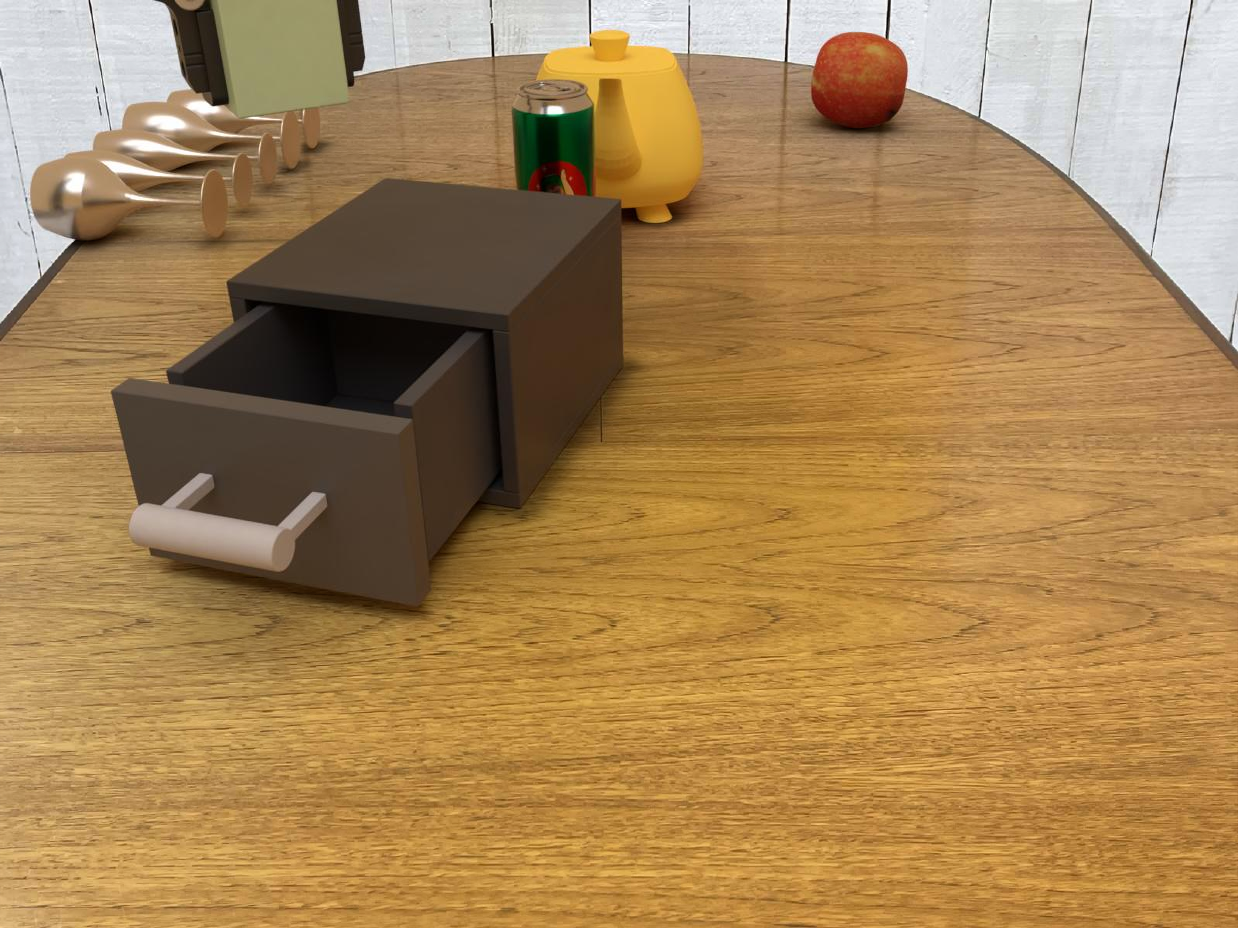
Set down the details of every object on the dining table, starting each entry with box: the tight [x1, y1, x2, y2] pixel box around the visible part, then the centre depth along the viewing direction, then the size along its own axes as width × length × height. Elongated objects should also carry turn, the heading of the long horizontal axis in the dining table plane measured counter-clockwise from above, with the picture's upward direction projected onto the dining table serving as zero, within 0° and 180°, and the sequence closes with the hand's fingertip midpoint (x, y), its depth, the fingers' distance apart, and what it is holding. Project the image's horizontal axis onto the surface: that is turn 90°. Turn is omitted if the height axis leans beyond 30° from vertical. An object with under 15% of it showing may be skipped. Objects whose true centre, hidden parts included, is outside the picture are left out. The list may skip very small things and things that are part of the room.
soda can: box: [511, 79, 596, 197], centre depth 79 cm, size 5×5×12 cm
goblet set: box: [29, 88, 321, 241], centre depth 97 cm, size 28×6×13 cm
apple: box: [810, 31, 909, 129], centre depth 109 cm, size 8×8×8 cm
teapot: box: [535, 29, 704, 224], centre depth 90 cm, size 13×20×12 cm
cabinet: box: [226, 177, 624, 509], centre depth 63 cm, size 16×14×10 cm
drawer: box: [110, 302, 502, 607], centre depth 53 cm, size 19×12×8 cm, turn 162°
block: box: [206, 0, 351, 119], centre depth 51 cm, size 5×5×5 cm
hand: (278, 91), depth 52 cm, fingers closed on block, 4 cm apart
